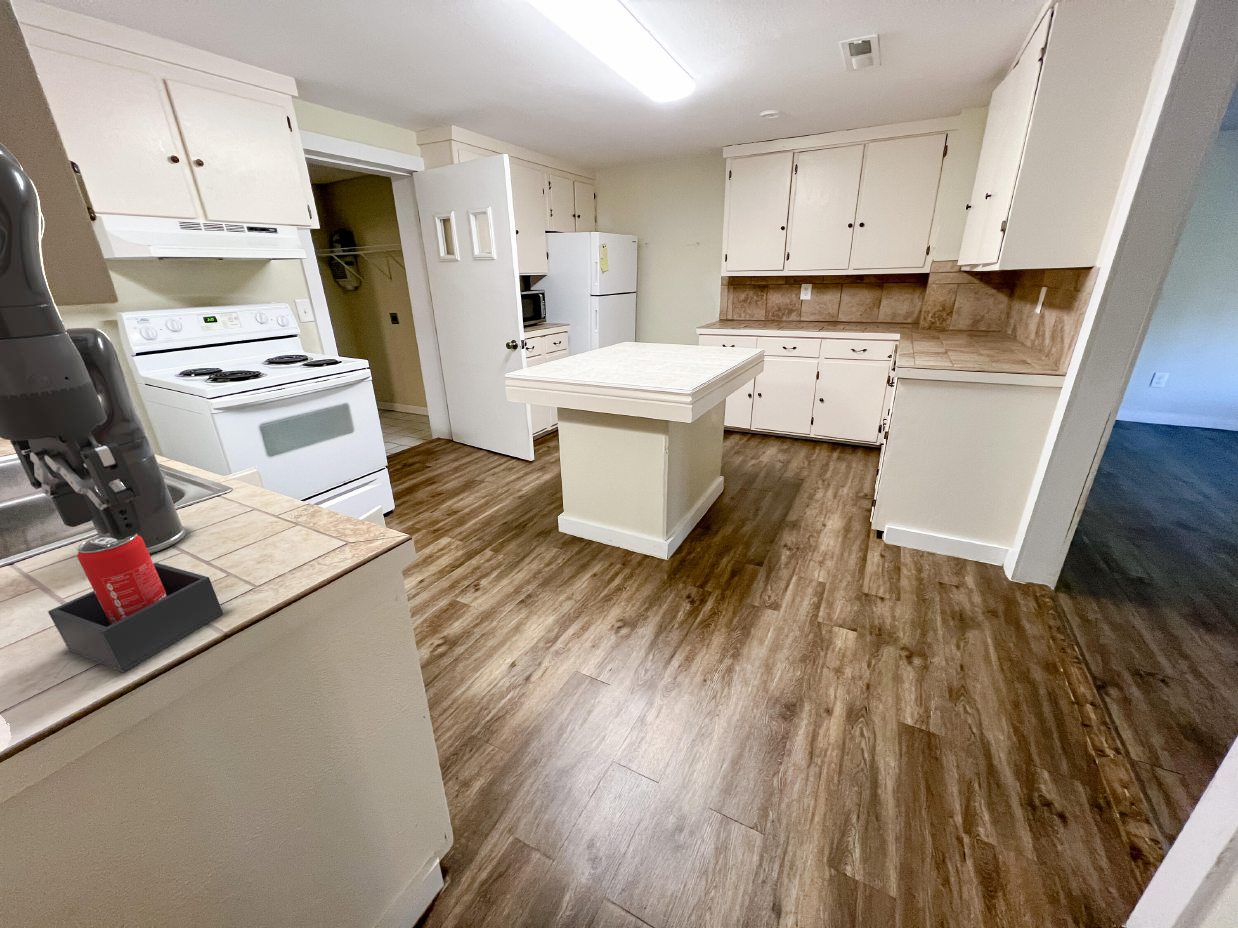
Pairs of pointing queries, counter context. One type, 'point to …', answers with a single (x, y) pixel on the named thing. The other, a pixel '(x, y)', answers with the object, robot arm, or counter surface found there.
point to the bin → (138, 621)
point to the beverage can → (120, 574)
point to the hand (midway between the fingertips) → (103, 529)
